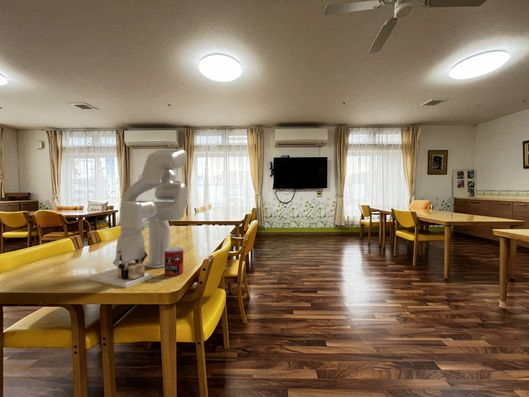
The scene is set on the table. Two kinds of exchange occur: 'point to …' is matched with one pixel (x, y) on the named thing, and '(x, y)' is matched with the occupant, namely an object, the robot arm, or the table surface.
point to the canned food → (173, 261)
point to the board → (117, 278)
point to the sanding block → (134, 271)
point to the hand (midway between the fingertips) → (131, 276)
